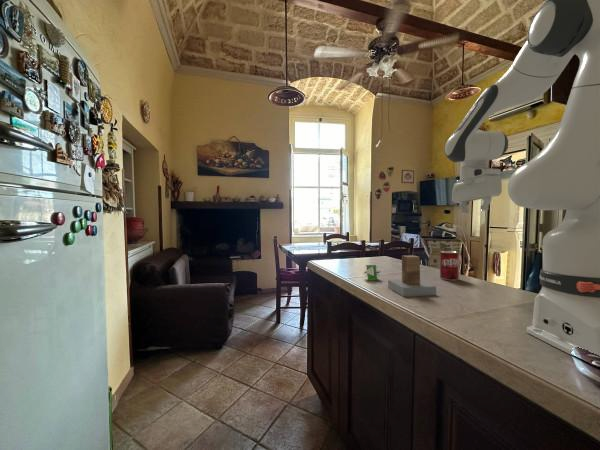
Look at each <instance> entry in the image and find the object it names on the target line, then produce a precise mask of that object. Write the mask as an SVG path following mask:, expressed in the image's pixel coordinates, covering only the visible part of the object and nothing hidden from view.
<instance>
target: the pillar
mask: <svg viewBox="0 0 600 450" xmlns="http://www.w3.org/2000/svg"><path fill="white" fill-rule="evenodd" d="M420 259H421V257H420V256H418V255H414V254H409V255H406V254H404V255H401V279H402V282H403V283H406V284H408V285H415V284H420V280H421V265H420V264H421V263H420V262H421V260H420Z"/></svg>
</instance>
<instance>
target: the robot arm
mask: <svg viewBox="0 0 600 450" xmlns="http://www.w3.org/2000/svg"><path fill="white" fill-rule="evenodd" d="M575 55H576V56H577V57H578V59H579V66H578V70H577V72H576V75H575V77H574V80H573V84H572V87H571V89H570V93H569V96H568V100H567V102H566V105H565V109H564V110H563V114H562V117H561V119H560V122H559V124H558V125H557V129H556V130H555V132H554V134H553V135H552V137H551V138H550V140H549V141H548V143H546V145H545V146H544V147H543V148H542V149H541V150H540V152H538V153H537V154H536V155H535V156H534V157H533V158H531V159H530V160H529V161H528V162H526V163H524V164H523V165H521V166H518V167H517V168H516V170H514V172H513V173H512V174H511V176H510V177H509V179H508V182H507V193H508V197H509V198H510V200H511V201H512V202H513V203H514V204H515V205H516V206H518V207H520V208H526V209H531V210H538V211H539V210H540V211H565V210H566V211H565V215H564V218H563V219H562V220H561V223H560V224H559V225H558V226H556V227H555V228H553V229H551V230H550V231H548V232H546V233H545V235H544V236H543V238H542V243H541V244H542V268H541V269H540V270H539V271H540V272H539V273H540V274H539V284H540V285H541V289H540V290H539V292H538V294H537V295H536V296H535V298H534V305H533V313H532V314H533V315H532V323H531V325H530V326H527V327H526V333H528V334H529V335H531V336H532V337H535V338H537V339H539V340H541V341H542V342H544V343H547V344H549V345H551V346H553V347H555V348H557V349H559V350H560V351H563V352H565V353H566V354H568V355H571V352H572V351H573V349H572V348H573V347H579V348H582V349H585V350H588V351H589V352H591V353H594V354H597V355H599V356H600V0H546V1H545V2H544V3H543V4H542V5H541V6H540V7H539V9H538V10H537V12H535V13H534V16H533V17H532V19H531V21H530V24H529V26H528V30H527V36H526V40H525V42H524V44H523V46H522V47H521V49H520V50H519V52H518V53H517V55H516V57H514V60H513V62H512V64H511V65H510V66H509V68H508V69H507V71H506V72H505V73H503V75H502V76H501V77H500V78H499V79H498V80H497V81H496V82H495V83H492V84H491V85H490V86H488V87H487V88H485V89H484V91H482V93H481V94H480V95H479V96H478V98H477V100H476V101H475V102H474V104H473V105H472V107H470V109H469V110H468V112H467V114H466V115H465V116H464V118H463V120H462V121H461V123H460V124H459V125H458V127H457V128H456V130H455V131H454V132H453V133H452V134H451V135H450V136H449V137H448V139H447V140H446V142H445V144H444V149H443V151H444V155H445V157H446V158H447V159H448V160H449V161H451V162H453V163H460V165H459V179H458V180H456V181H455V183H454V184H453V187H452V191H451V192H452V194H451V202H452V203H453V204H459V205H458V206H459V207H460V208H461V213H462V214H468V213H469V208H468V207H467V203H468V202H473V201H478V200H482V201H483V202H482V204H481V205H480V211H481V212H482V211H483V212H484V211H485V212H486V211H487V212H488V211H489V206H490V204H491V202H492V198H494V197H499V196H500V195H501V193H502V190H503V189H502V188H503V185H502V178H501V176H500V175H501V170H502V169H500V168H490V167H489V165H488V162H489V161H495V160H498V159H500V158H501V157H502V156H504V154H506V153H507V151H508V148H509V140H508V137H507V135H506V133H504V132H503V131H499V130H498V131H497V130H487V131H485V130H482V129H479V128H480V127H481V126H482V125H483V124H484V122H485V121H486V120H487V119H488V118H489V117H490V116H492V115H494V114H495V113H498V112H500V111H503V110H506V109H509V108H511V107H515V106H519V105H523V104H526V103H530V102H531V101H533V100H535V99H537V98H540V97H541V96H543V95H544V94H545V93H546V92H548V91H549V89H550V88H551V87H552V86H553V85H554V84H555V83H556V81H557V79H559V77H560V75H561V74H562V72H563V71H564V70H565V69H566V67H567V66H568V64H569V63H570V61H571V59H572V58H573V56H575ZM571 356H572V355H571Z"/></svg>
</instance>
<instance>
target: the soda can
mask: <svg viewBox="0 0 600 450" xmlns="http://www.w3.org/2000/svg"><path fill="white" fill-rule="evenodd" d="M439 278H440V279H441V280H443V281H450V282H451V281H453V282H455V281H458V280H460V255H459V252H458V251H456V250H455V251H454V250H440V251H439Z"/></svg>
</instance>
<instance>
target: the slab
mask: <svg viewBox="0 0 600 450" xmlns="http://www.w3.org/2000/svg"><path fill="white" fill-rule="evenodd" d="M387 282H388V284H387V286H388V287H387V288H388V289H390V290H392V291H393V292H395V293H397V294H398V295H400V296H402V297H423V296H437V286H436V285H434V284H431V283H429V282H426V281H424V280H421V279H420V284H415V285H408V284H406V283H403V282H402V278H400V279H388V281H387Z"/></svg>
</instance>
